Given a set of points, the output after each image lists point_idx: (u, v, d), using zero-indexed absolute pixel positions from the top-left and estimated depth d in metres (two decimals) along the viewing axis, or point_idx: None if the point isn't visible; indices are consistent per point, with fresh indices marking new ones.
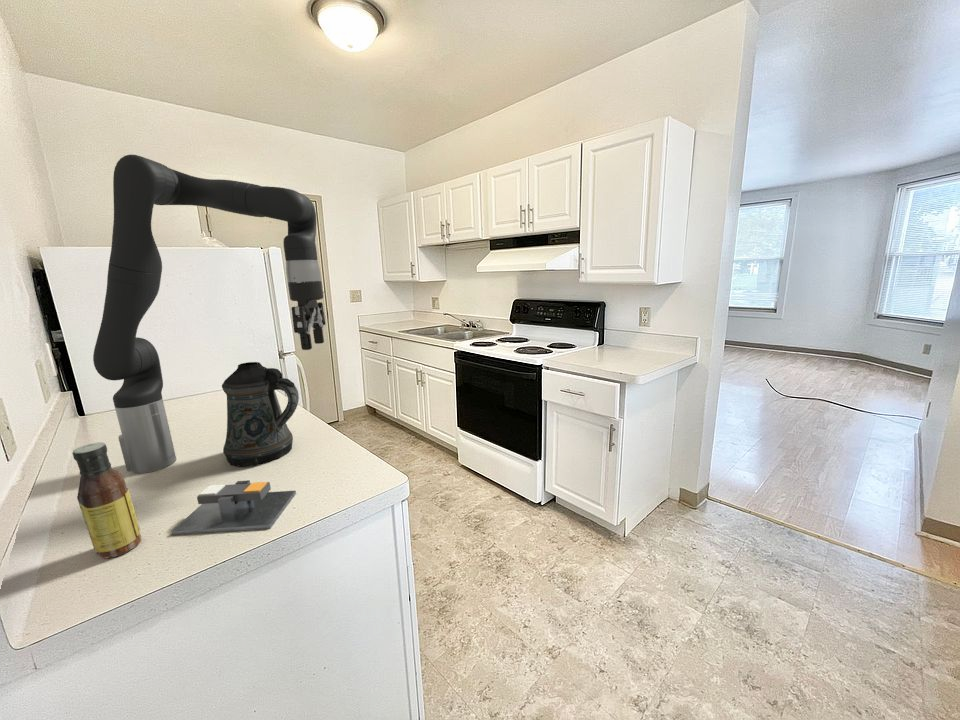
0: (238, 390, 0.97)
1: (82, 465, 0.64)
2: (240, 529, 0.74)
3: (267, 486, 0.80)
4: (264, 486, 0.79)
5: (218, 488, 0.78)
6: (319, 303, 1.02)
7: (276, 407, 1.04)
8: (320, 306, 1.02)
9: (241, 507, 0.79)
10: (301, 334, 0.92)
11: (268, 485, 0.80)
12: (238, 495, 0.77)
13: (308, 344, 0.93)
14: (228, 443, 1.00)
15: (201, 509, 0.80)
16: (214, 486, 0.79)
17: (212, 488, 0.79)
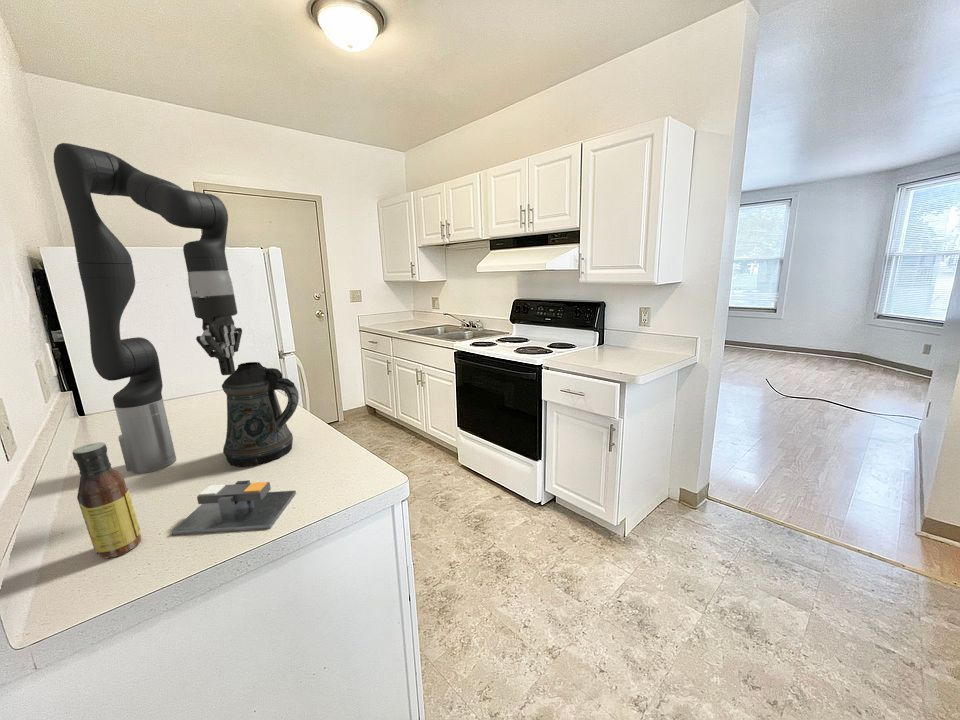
0: (238, 390, 0.97)
1: (82, 465, 0.64)
2: (240, 529, 0.74)
3: (267, 486, 0.80)
4: (264, 486, 0.79)
5: (218, 488, 0.78)
6: (238, 328, 0.89)
7: (276, 407, 1.04)
8: (237, 330, 0.89)
9: (241, 507, 0.79)
10: (219, 358, 0.83)
11: (268, 485, 0.80)
12: (238, 495, 0.77)
13: (228, 369, 0.84)
14: (228, 443, 1.00)
15: (201, 509, 0.80)
16: (214, 486, 0.79)
17: (212, 488, 0.79)
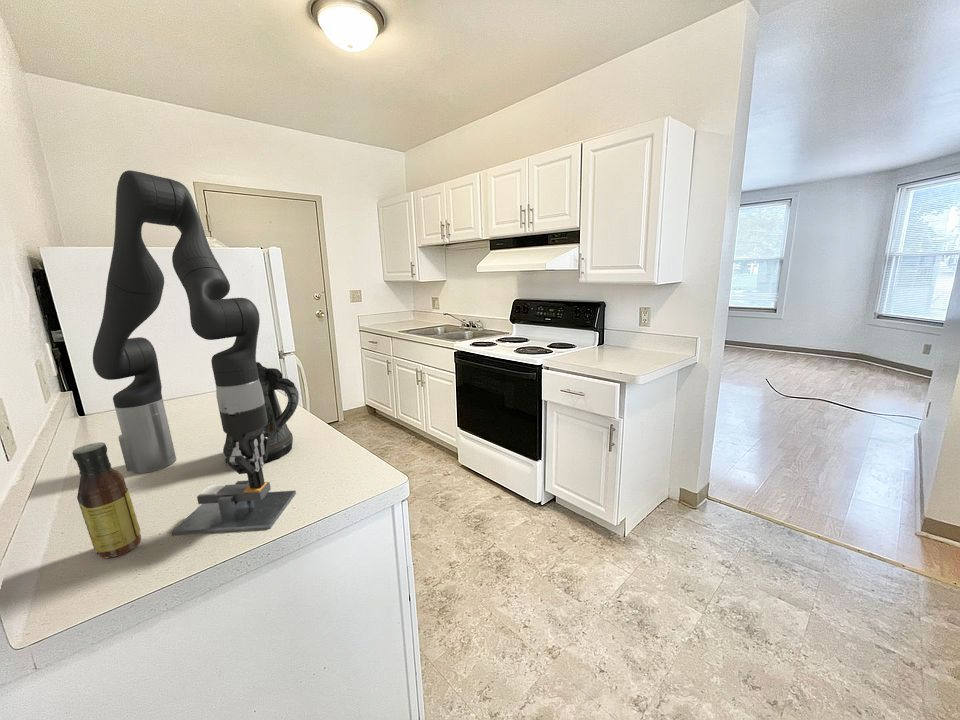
0: None
1: (82, 465, 0.64)
2: (240, 529, 0.74)
3: (267, 486, 0.80)
4: (264, 486, 0.79)
5: (218, 488, 0.78)
6: (266, 432, 0.82)
7: (276, 407, 1.04)
8: (266, 435, 0.82)
9: (241, 507, 0.79)
10: (248, 473, 0.76)
11: (268, 485, 0.80)
12: (238, 495, 0.77)
13: (257, 483, 0.77)
14: (228, 443, 1.00)
15: (201, 509, 0.80)
16: (214, 486, 0.79)
17: (212, 488, 0.79)
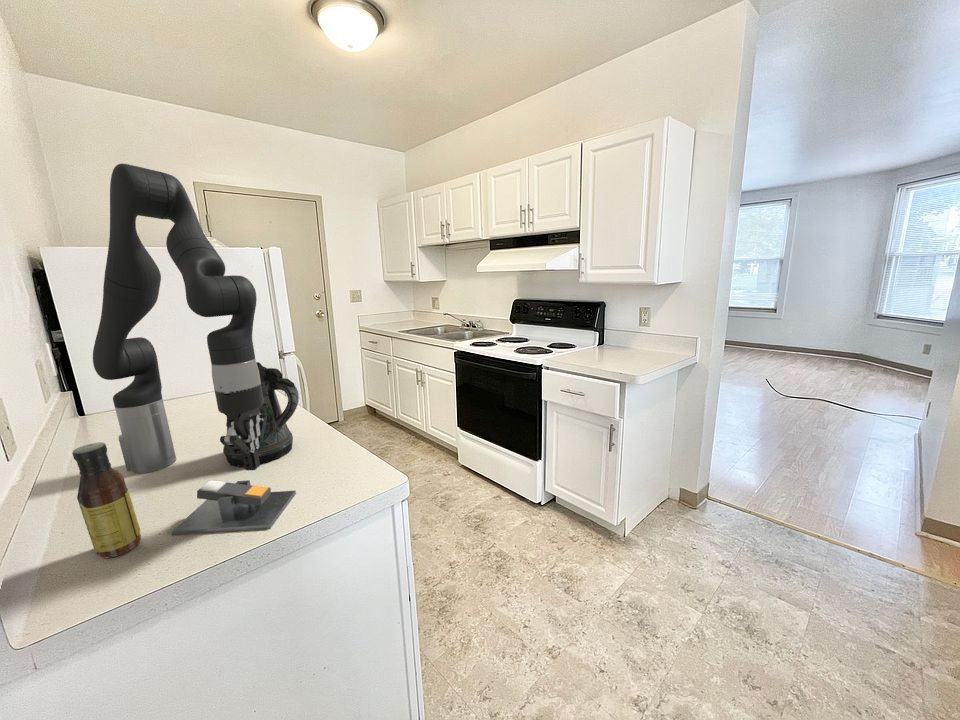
0: None
1: (82, 465, 0.64)
2: (240, 529, 0.74)
3: (268, 492, 0.80)
4: (265, 491, 0.79)
5: (219, 485, 0.78)
6: (262, 414, 0.81)
7: (276, 407, 1.04)
8: (262, 417, 0.81)
9: (241, 507, 0.79)
10: (243, 454, 0.75)
11: (269, 491, 0.80)
12: (239, 497, 0.77)
13: (252, 464, 0.77)
14: None
15: (201, 509, 0.80)
16: (215, 482, 0.79)
17: (213, 484, 0.78)
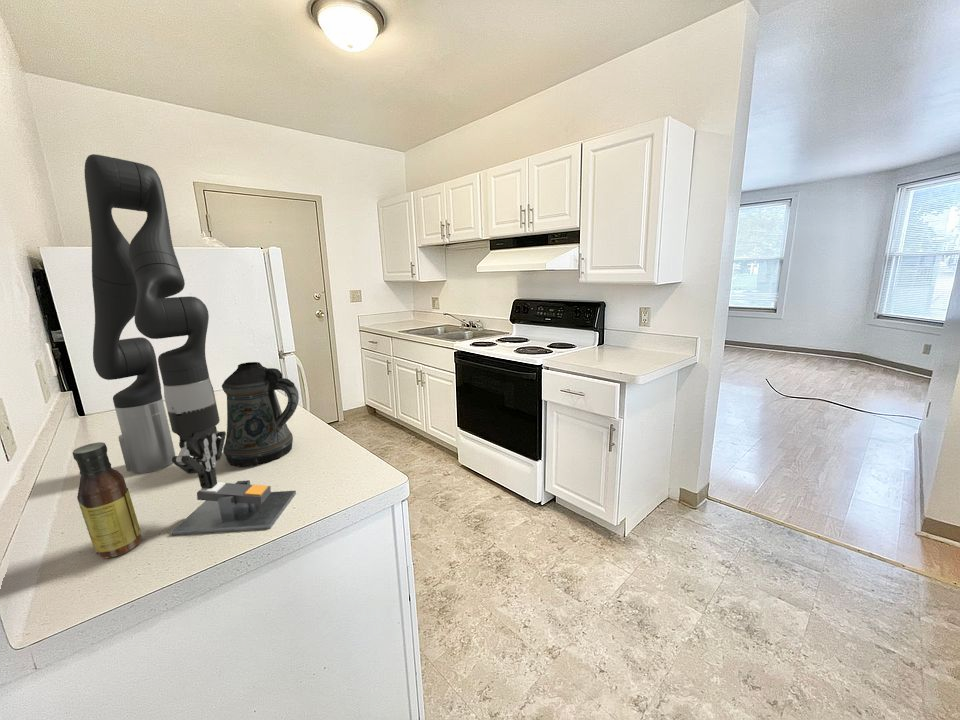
0: (238, 390, 0.97)
1: (82, 465, 0.64)
2: (240, 529, 0.74)
3: (268, 490, 0.80)
4: (265, 490, 0.79)
5: (218, 486, 0.78)
6: (221, 432, 0.82)
7: (276, 407, 1.04)
8: (220, 435, 0.81)
9: (241, 507, 0.79)
10: (199, 473, 0.76)
11: (269, 489, 0.80)
12: (239, 496, 0.77)
13: (209, 483, 0.77)
14: (228, 443, 1.00)
15: (201, 509, 0.80)
16: None
17: None
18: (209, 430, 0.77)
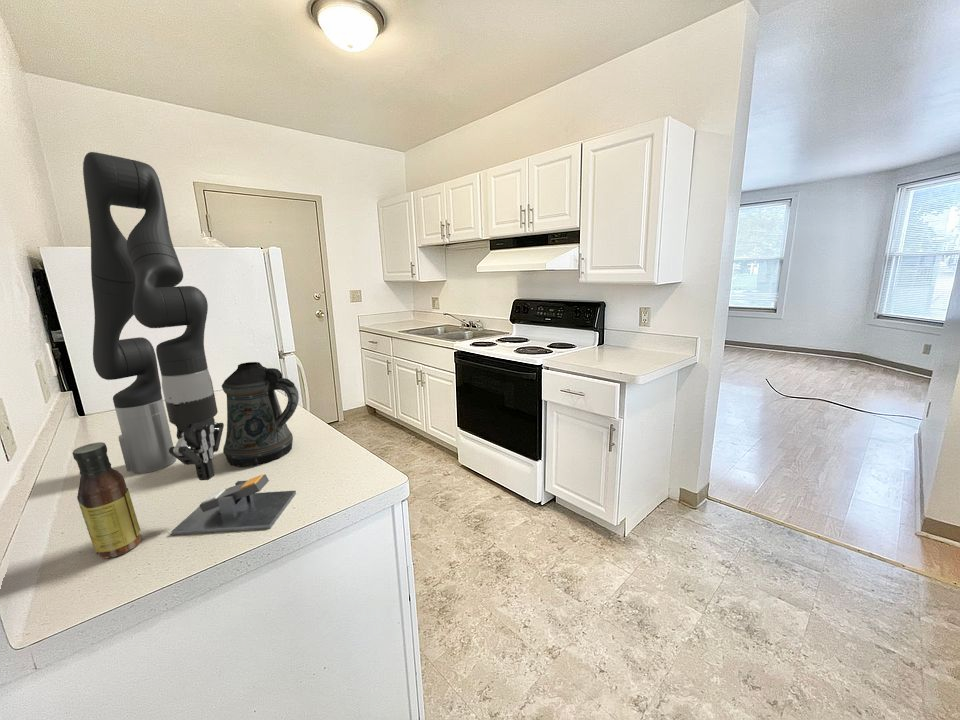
0: (238, 390, 0.97)
1: (82, 465, 0.64)
2: (240, 529, 0.74)
3: (263, 478, 0.79)
4: (260, 478, 0.79)
5: (218, 493, 0.79)
6: (219, 423, 0.81)
7: (276, 407, 1.04)
8: (218, 426, 0.81)
9: (241, 507, 0.79)
10: (196, 464, 0.75)
11: (264, 477, 0.80)
12: (236, 493, 0.77)
13: (206, 474, 0.77)
14: (228, 443, 1.00)
15: (201, 509, 0.80)
16: (215, 492, 0.80)
17: (213, 494, 0.79)
18: (207, 421, 0.77)
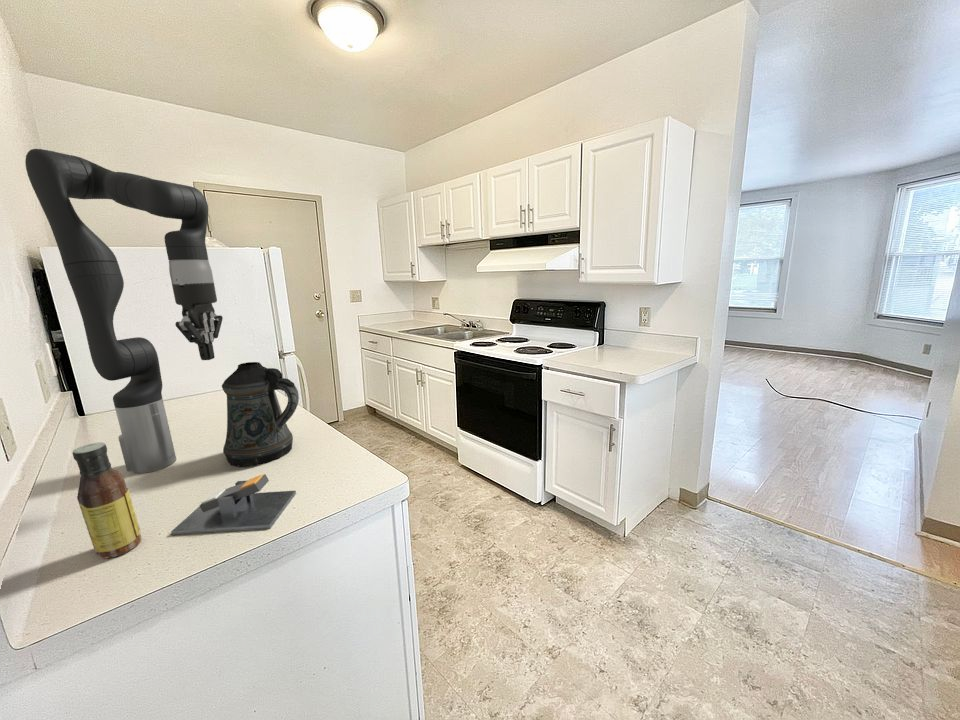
0: (238, 390, 0.97)
1: (82, 465, 0.64)
2: (240, 529, 0.74)
3: (263, 478, 0.79)
4: (260, 478, 0.79)
5: (218, 493, 0.79)
6: None
7: (276, 407, 1.04)
8: (218, 318, 0.92)
9: (241, 507, 0.79)
10: (198, 344, 0.87)
11: (264, 477, 0.80)
12: (236, 493, 0.77)
13: (207, 354, 0.88)
14: (228, 443, 1.00)
15: (201, 509, 0.80)
16: (215, 493, 0.80)
17: (213, 494, 0.79)
18: (208, 309, 0.89)
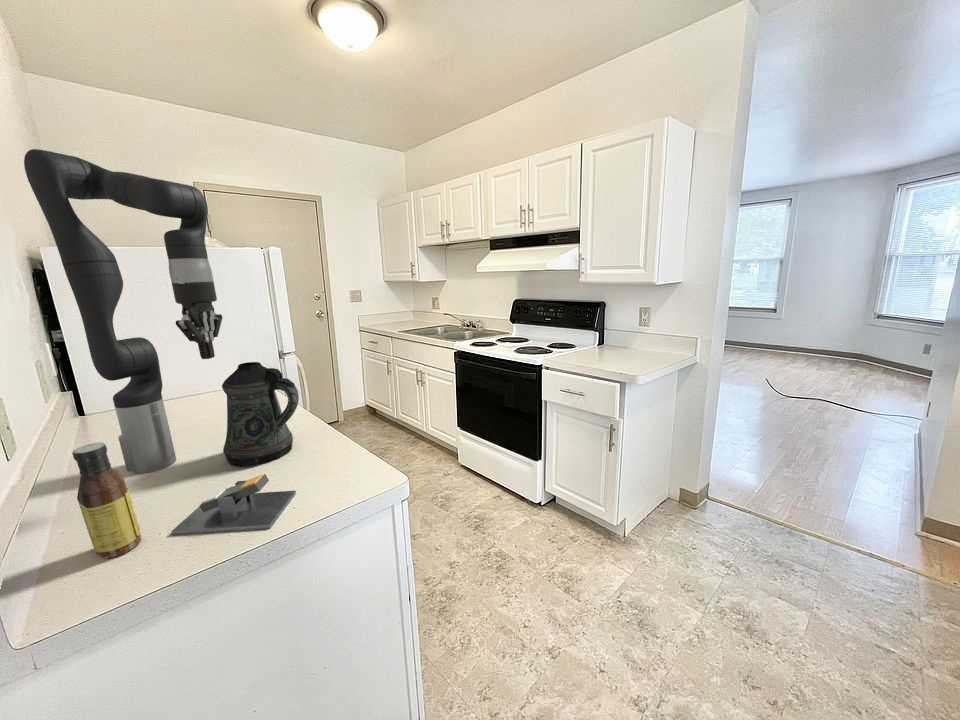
0: (238, 390, 0.97)
1: (82, 465, 0.64)
2: (240, 529, 0.74)
3: (263, 478, 0.79)
4: (260, 478, 0.79)
5: (218, 493, 0.79)
6: (218, 314, 0.93)
7: (276, 407, 1.04)
8: (218, 317, 0.92)
9: (241, 507, 0.79)
10: (198, 342, 0.87)
11: (264, 477, 0.80)
12: (236, 493, 0.77)
13: (207, 353, 0.88)
14: (228, 443, 1.00)
15: (201, 509, 0.80)
16: (215, 493, 0.80)
17: (213, 494, 0.79)
18: (208, 307, 0.89)
